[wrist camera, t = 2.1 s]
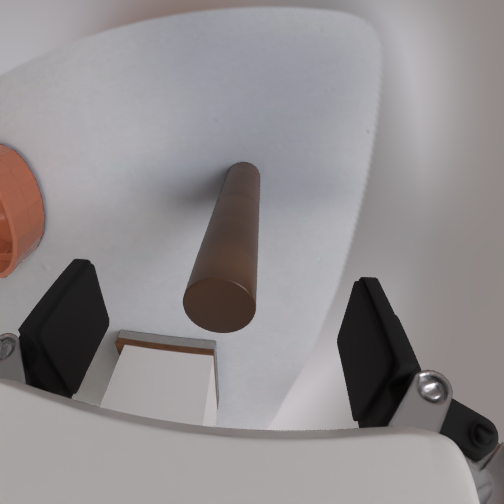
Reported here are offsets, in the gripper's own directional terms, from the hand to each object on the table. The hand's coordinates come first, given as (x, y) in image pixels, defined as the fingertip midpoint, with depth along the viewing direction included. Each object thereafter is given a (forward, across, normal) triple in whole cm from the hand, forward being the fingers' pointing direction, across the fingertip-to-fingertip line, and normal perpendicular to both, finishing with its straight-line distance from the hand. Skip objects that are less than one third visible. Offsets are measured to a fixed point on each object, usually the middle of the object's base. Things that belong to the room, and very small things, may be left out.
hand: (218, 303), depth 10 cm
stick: (+13, 0, 0) cm, 13 cm away
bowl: (+14, +24, +1) cm, 28 cm away
